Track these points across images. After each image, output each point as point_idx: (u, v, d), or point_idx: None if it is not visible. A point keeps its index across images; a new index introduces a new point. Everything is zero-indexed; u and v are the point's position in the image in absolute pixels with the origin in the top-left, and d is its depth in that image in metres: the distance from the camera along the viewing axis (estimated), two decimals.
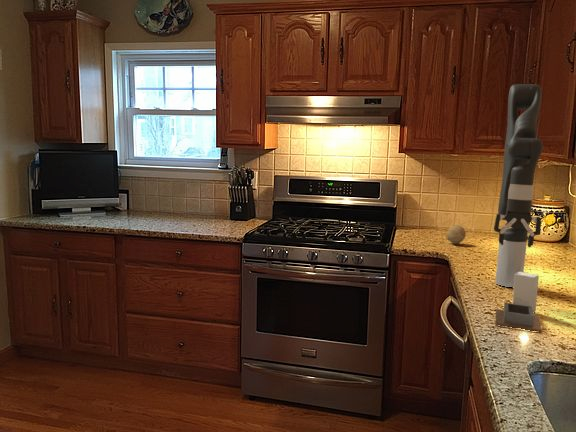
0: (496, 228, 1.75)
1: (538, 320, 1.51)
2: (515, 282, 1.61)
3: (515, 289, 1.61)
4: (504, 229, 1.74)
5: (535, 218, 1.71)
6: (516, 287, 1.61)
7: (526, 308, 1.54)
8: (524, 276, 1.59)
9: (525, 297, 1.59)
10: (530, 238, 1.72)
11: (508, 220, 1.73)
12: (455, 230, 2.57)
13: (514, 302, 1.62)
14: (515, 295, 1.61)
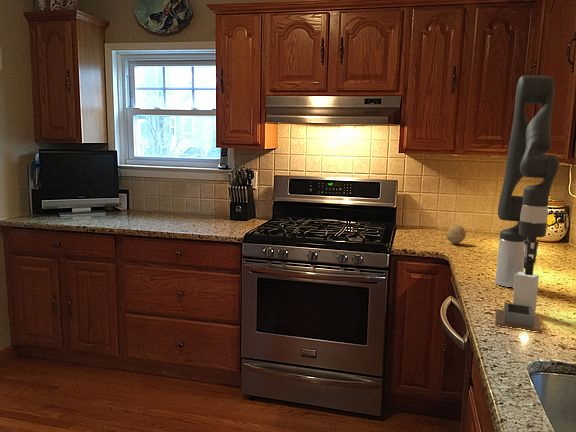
0: None
1: (538, 320, 1.51)
2: (515, 282, 1.61)
3: (515, 289, 1.61)
4: None
5: None
6: (516, 287, 1.60)
7: (526, 308, 1.54)
8: (524, 276, 1.59)
9: (525, 297, 1.59)
10: None
11: None
12: (455, 230, 2.57)
13: (514, 302, 1.62)
14: (515, 295, 1.61)
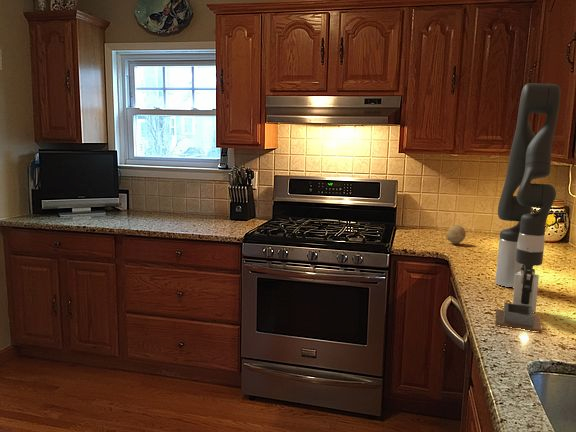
0: None
1: (538, 320, 1.51)
2: (515, 282, 1.61)
3: (515, 289, 1.61)
4: None
5: None
6: (516, 287, 1.60)
7: (526, 308, 1.54)
8: None
9: None
10: None
11: None
12: (455, 230, 2.57)
13: (514, 302, 1.62)
14: (515, 295, 1.61)
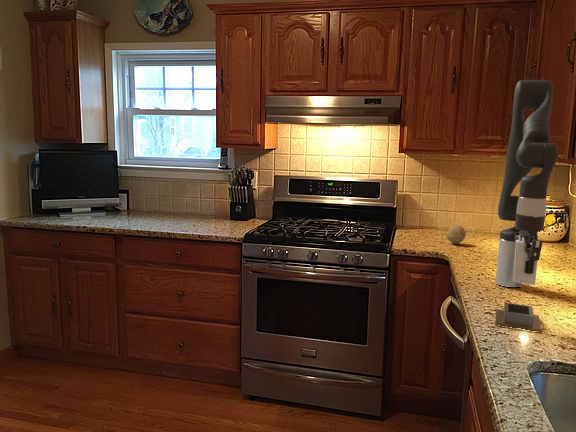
0: None
1: (538, 320, 1.51)
2: (517, 251, 1.48)
3: (517, 259, 1.48)
4: None
5: None
6: (518, 256, 1.48)
7: (526, 308, 1.54)
8: None
9: None
10: None
11: None
12: (455, 230, 2.57)
13: (515, 273, 1.49)
14: (516, 265, 1.48)
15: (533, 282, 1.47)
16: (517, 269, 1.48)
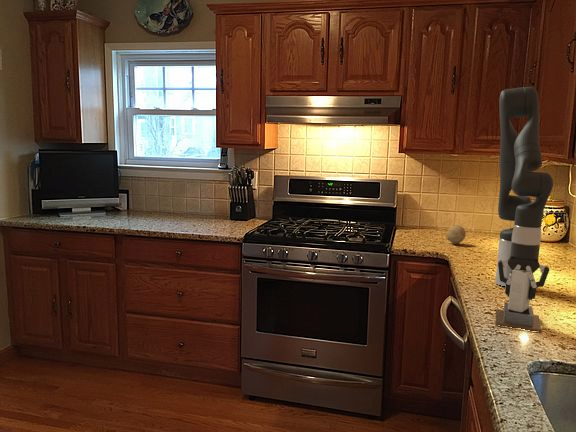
0: None
1: (538, 320, 1.51)
2: (526, 281, 1.47)
3: (525, 289, 1.47)
4: None
5: None
6: (526, 286, 1.47)
7: None
8: None
9: (528, 292, 1.50)
10: None
11: None
12: (455, 230, 2.57)
13: (523, 303, 1.48)
14: (524, 295, 1.48)
15: (528, 306, 1.52)
16: (524, 298, 1.48)
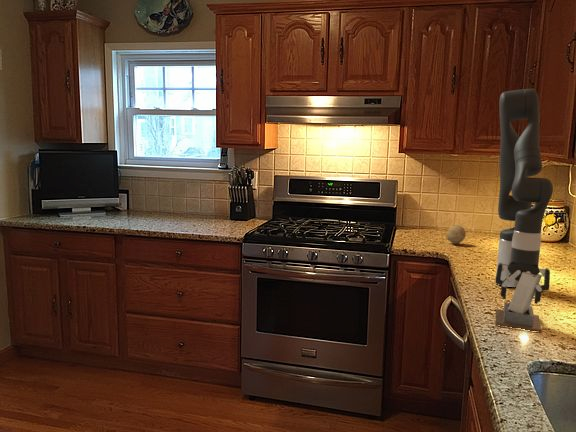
0: None
1: (538, 320, 1.51)
2: (533, 286, 1.46)
3: (531, 293, 1.47)
4: None
5: None
6: (532, 290, 1.47)
7: None
8: (538, 277, 1.48)
9: (531, 297, 1.50)
10: None
11: None
12: (455, 230, 2.57)
13: (525, 306, 1.48)
14: (528, 298, 1.48)
15: (527, 310, 1.52)
16: (527, 302, 1.48)
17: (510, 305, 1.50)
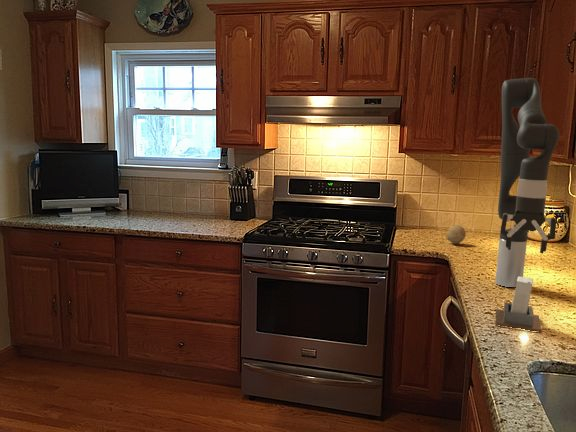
0: None
1: (538, 320, 1.51)
2: (530, 292, 1.47)
3: None
4: None
5: None
6: (529, 297, 1.48)
7: None
8: (532, 282, 1.49)
9: None
10: None
11: None
12: (455, 230, 2.57)
13: (526, 313, 1.48)
14: None
15: None
16: (527, 309, 1.48)
17: None
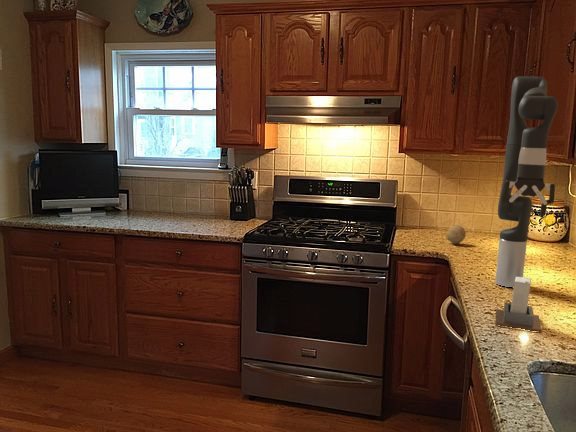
0: None
1: (538, 320, 1.51)
2: (528, 292, 1.47)
3: None
4: None
5: None
6: (528, 296, 1.48)
7: None
8: (530, 281, 1.49)
9: None
10: None
11: None
12: (455, 230, 2.57)
13: (525, 313, 1.48)
14: (527, 305, 1.48)
15: None
16: (526, 309, 1.49)
17: None
